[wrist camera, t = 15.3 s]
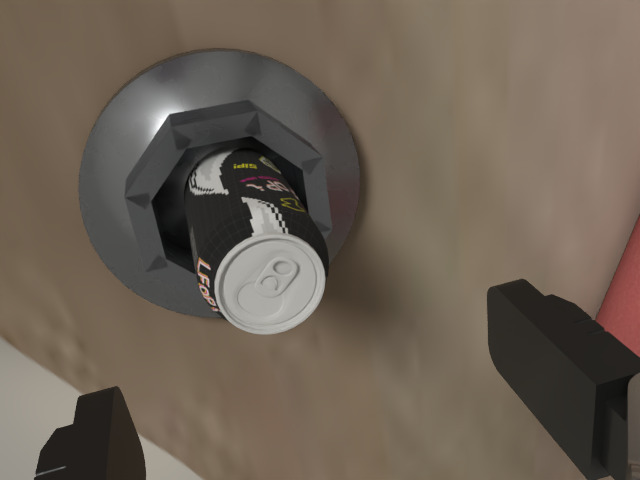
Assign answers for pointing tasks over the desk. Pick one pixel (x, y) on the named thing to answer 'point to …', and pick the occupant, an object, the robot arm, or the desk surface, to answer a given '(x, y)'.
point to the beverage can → (253, 242)
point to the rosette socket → (192, 145)
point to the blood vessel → (625, 297)
